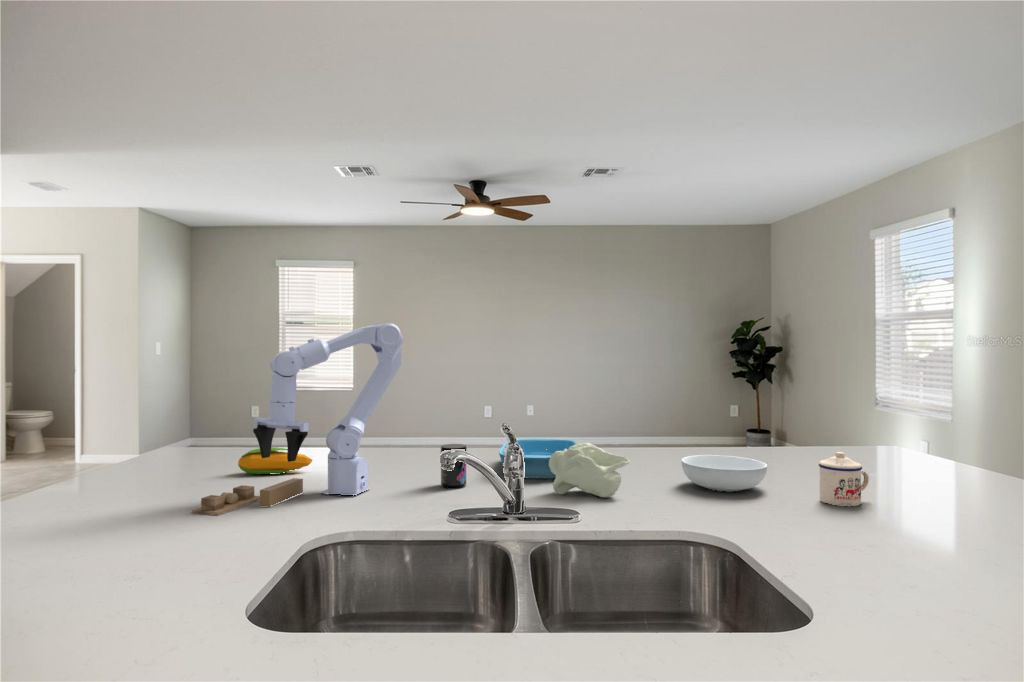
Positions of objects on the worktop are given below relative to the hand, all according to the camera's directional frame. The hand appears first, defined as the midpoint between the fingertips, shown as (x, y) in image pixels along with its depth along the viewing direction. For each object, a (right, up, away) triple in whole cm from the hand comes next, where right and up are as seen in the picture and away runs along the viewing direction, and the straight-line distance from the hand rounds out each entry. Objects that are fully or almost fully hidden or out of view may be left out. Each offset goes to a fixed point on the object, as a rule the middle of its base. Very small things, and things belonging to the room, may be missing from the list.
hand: (278, 459), depth 154 cm
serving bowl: (+110, -10, +12) cm, 111 cm away
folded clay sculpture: (+74, -10, +6) cm, 75 cm away
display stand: (-9, -10, -6) cm, 14 cm away
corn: (-11, -10, +30) cm, 33 cm away
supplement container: (+40, -10, +14) cm, 44 cm away
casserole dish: (+63, -10, +36) cm, 74 cm away
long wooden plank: (+1, -10, 0) cm, 10 cm away
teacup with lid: (+134, -10, -2) cm, 134 cm away
